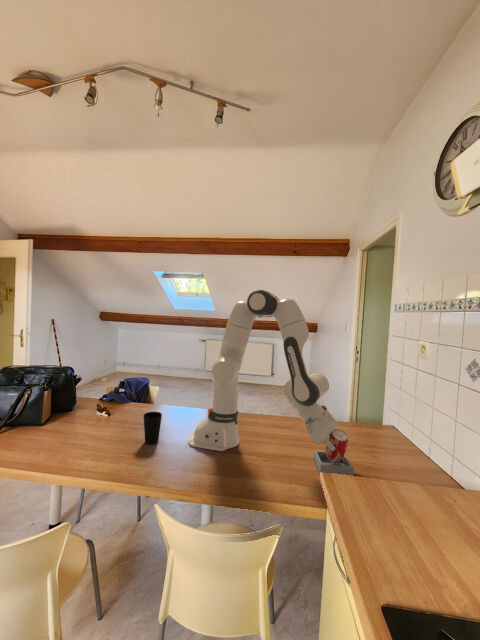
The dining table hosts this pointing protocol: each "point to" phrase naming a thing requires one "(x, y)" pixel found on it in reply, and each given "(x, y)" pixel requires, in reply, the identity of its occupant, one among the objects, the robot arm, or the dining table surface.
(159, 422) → the cup
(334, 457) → the soda can
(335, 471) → the tray
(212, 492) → the dining table surface
